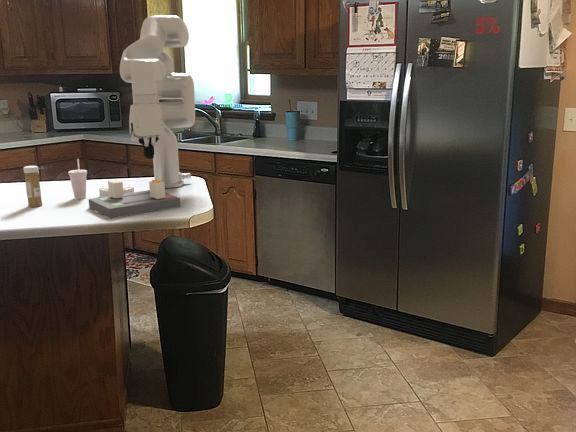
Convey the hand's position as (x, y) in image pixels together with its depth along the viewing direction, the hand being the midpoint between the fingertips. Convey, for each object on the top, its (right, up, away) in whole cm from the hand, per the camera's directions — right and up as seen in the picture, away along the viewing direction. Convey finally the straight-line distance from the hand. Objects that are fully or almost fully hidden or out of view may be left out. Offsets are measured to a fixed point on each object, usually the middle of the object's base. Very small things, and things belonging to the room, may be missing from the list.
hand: (149, 158), depth 199 cm
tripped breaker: (+2, -12, +4) cm, 13 cm away
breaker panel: (-6, -16, +5) cm, 18 cm away
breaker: (-12, -12, +6) cm, 18 cm away
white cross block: (-17, -12, +24) cm, 32 cm away
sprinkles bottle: (-40, -15, +9) cm, 44 cm away
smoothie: (-29, -12, +20) cm, 37 cm away
